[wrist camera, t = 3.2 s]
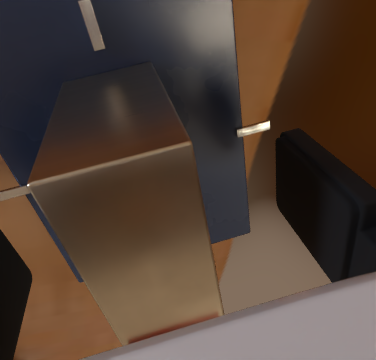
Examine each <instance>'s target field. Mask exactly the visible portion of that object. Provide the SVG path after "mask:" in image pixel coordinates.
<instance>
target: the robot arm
mask: <svg viewBox="0 0 376 360" xmlns="http://www.w3.org/2000/svg"><path fill="white" fill-rule="evenodd" d="M276 201H277V206H278V208H279V210H280V212H281V213H282V214H283V216H284V217H285V219H286V220H287V221H288V223H289V224H290V225H291V227H292V228H293V229H294V231H295V232H296V234H297V235H298V236H299V238H300V239H301V240H302V242H303V243H304V245H305V246H306V247H307V249H308V250H309V251H310V253H311V254H312V256H313V257H314V258H315V260H316V261H317V263H318V264H319V265H320V267H321V268H322V269H323V271H324V272H325V273H326V275H327V276H328V278H329V279H330V280H331V282H332V283H330V284H327V285H324V286H320V287H316V288H313V289H309V290H306V291H302V292H299V293H295V294H292V295H289V296H286V297H282V298H279V299H276V300H272V301H269V302H266V303H262V304H259V305H256V306H253V307H249V308H246V309H243V310H239V311H236V312H232V313H229V314H226V315H223V316H219V317H216V318H213V319H209V320H206V321H203V322H200V323H196V324H193V325H190V326H186V327H183V328H180V329H177V330H173V331H170V332H167V333H164V334H160V335H157V336H154V337H151V338H147V339H144V340H141V341H138V342H134V343H131V344H128V345H125V346H122V347H118V348H115V349H112V350H109V351H105V352H102V353H99V354H96V355H92V356H89V357H86V358H83V359H80V360H376V189H375V188H373V187H372V186H371V185H370V184H368V183H367V182H366V181H365V180H363V179H362V178H361V177H360V176H358V175H357V174H356V173H354V172H353V171H352V170H351V169H350V168H348V167H347V166H346V165H345V164H343V163H342V162H341V161H340V160H339V159H337V158H336V157H335V156H334V155H332V154H331V153H330V152H329V151H327V150H326V149H325V148H323V147H322V146H321V145H320V144H319V143H317V142H316V141H315V140H314V139H312V138H311V137H310V136H309V135H307V134H306V133H305V132H304V131H303V130H301V129H299V128H297V129H293V130H290V131H286V132H282V133H281V135H280V138H277V139H276ZM31 283H32V274H31V271H30V270H29V268H28V267H27V265H26V264H25V263H24V261H23V260H22V259H21V257H20V256H19V254H18V253H17V252H16V250H15V249H14V248H13V246H12V245H11V243H10V242H9V241H8V239H7V238H6V236H5V235H4V234H3V232H2V231H1V230H0V360H13V357H14V353H15V349H16V345H17V341H18V337H19V333H20V329H21V324H22V320H23V316H24V312H25V308H26V304H27V300H28V296H29V292H30V288H31Z"/></svg>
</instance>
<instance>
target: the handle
mask: <svg viewBox="0 0 376 360" xmlns="http://www.w3.org/2000/svg"><path fill="white" fill-rule="evenodd" d="M27 187H28V189H29V190H30V192H31V194H32V195H33V197H34V199H35V200H36V202H37V204H38V205H39V207H40V209H41V210H42V212H43V214H44V215H45V217H46V219H47V220H48V222H49V224H50V226H51V227H52V229H53V231H54V232H55V234H56V236H57V237H58V239H59V241H60V242H61V244H62V246H63V247H64V249H65V251H66V252H67V254H68V256H69V257H70V259H71V261H72V262H73V264H74V266H75V267H76V269H77V271H78V272H79V274H80V276H81V277H82V279H83V281H84V282H85V284H86V286H87V287H88V289H89V291H90V292H91V294H92V296H93V297H94V299H95V301H96V302H97V304H98V306H99V307H100V309H101V311H102V312H103V314H104V316H105V317H106V319H107V321H108V322H109V324H110V326H111V327H112V329H113V331H114V332H115V334H116V336H117V337H118V339H119V341H120V342H121V344H122V346H125V345H128V344H131V343H134V342H138V341H141V340H144V339H147V338H151V337H154V336H157V335H160V334H164V333H167V332H170V331H173V330H177V329H180V328H183V327H186V326H190V325H193V324H196V323H200V322H203V321H206V320H209V319H213V318H216V317H219V316H223V315H224V310H223V305H222V300H221V294H220V289H219V284H218V278H217V273H216V268H215V262H214V257H213V252H212V246H211V241H210V236H209V230H208V225H207V220H206V214H205V209H204V204H203V198H202V193H201V188H200V182H199V177H198V172H197V166H196V161H195V156H194V150H193V145H192V142H191V140H190V138H189V136H188V134H187V132H186V130H185V128H184V126H183V124H182V122H181V120H180V118H179V116H178V114H177V112H176V110H175V108H174V106H173V104H172V102H171V100H170V98H169V96H168V94H167V92H166V90H165V88H164V86H163V84H162V82H161V80H160V78H159V76H158V74H157V72H156V70H155V68H154V66H153V65H152V63H151V62H146V63H142V64H138V65H134V66H130V67H126V68H122V69H117V70H113V71H109V72H105V73H101V74H97V75H92V76H88V77H84V78H80V79H76V80H72V81H67V82H64V83H63V84H62V87H61V89H60V92H59V95H58V98H57V101H56V104H55V106H54V109H53V112H52V115H51V118H50V120H49V123H48V126H47V129H46V132H45V134H44V137H43V140H42V143H41V146H40V149H39V151H38V154H37V157H36V160H35V163H34V165H33V168H32V171H31V174H30V177H29V180H28V182H27Z"/></svg>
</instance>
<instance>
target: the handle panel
mask: <svg viewBox="0 0 376 360" xmlns="http://www.w3.org/2000/svg"><path fill="white" fill-rule="evenodd" d="M146 62H151V63H152V65H153V66H154V68H155V70H156V72H157V74H158V76H159V78H160V80H161V82H162V84H163V86H164V88H165V90H166V92H167V94H168V96H169V98H170V100H171V102H172V104H173V106H174V108H175V110H176V112H177V114H178V116H179V118H180V120H181V122H182V124H183V126H184V128H185V130H186V132H187V134H188V136H189V138H190V140H191V142H192V145H193V150H194V156H195V161H196V166H197V172H198V177H199V182H200V188H201V193H202V198H203V204H204V209H205V214H206V220H207V225H208V230H209V236H210V241H211V244H213V243H216V242H220V241H223V240H227V239H230V238H234V237H237V236H240V235H244V234H247V233H250V222H249V209H248V196H247V183H246V170H245V157H244V144H243V136H246V135H250V134H254V133H257V132H261V131H265V130H268V129H270V122H269V120H266V121H263V122H259V123H255V124H251V125H247V126H244V127H242V118H241V105H240V92H239V79H238V66H237V53H236V40H235V27H234V14H233V1H232V0H0V154H1V156H2V157H3V159H4V161H5V162H6V164H7V165H8V167H9V169H10V170H11V172H12V174H13V175H14V177H15V179H16V180H17V182H18V183H19V185H20V186H17V187H13V188H9V189H5V190H1V191H0V201H2V200H6V199H10V198H14V197H17V196H21V195H26V196H27V198H28V200H29V201H30V203H31V205H32V206H33V208H34V209H35V211H36V213H37V214H38V216H39V218H40V219H41V221H42V222H43V224H44V226H45V227H46V229H47V231H48V232H49V234H50V235H51V237H52V239H53V240H54V242H55V244H56V245H57V247H58V248H59V250H60V252H61V253H62V255H63V257H64V258H65V260H66V261H67V263H68V265H69V266H70V268H71V270H72V271H73V273H74V274H75V276H76V278H77V279H78V281H79V282H84V281H83V279H82V277H81V276H80V274H79V272H78V271H77V269H76V267H75V266H74V264H73V262H72V261H71V259H70V257H69V256H68V254H67V252H66V251H65V249H64V247H63V246H62V244H61V242H60V241H59V239H58V237H57V236H56V234H55V232H54V231H53V229H52V227H51V226H50V224H49V222H48V220H47V219H46V217H45V215H44V214H43V212H42V210H41V209H40V207H39V205H38V204H37V202H36V200H35V199H34V197H33V195H32V194H31V192H30V190H29V189H28V187H27V182H28V180H29V177H30V174H31V171H32V168H33V165H34V163H35V160H36V157H37V154H38V151H39V149H40V146H41V143H42V140H43V137H44V134H45V132H46V129H47V126H48V123H49V120H50V118H51V115H52V112H53V109H54V106H55V104H56V101H57V98H58V95H59V92H60V89H61V87H62V84H63V83H64V82H67V81H72V80H76V79H80V78H84V77H88V76H92V75H97V74H101V73H105V72H109V71H113V70H117V69H122V68H126V67H130V66H134V65H138V64H142V63H146Z"/></svg>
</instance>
